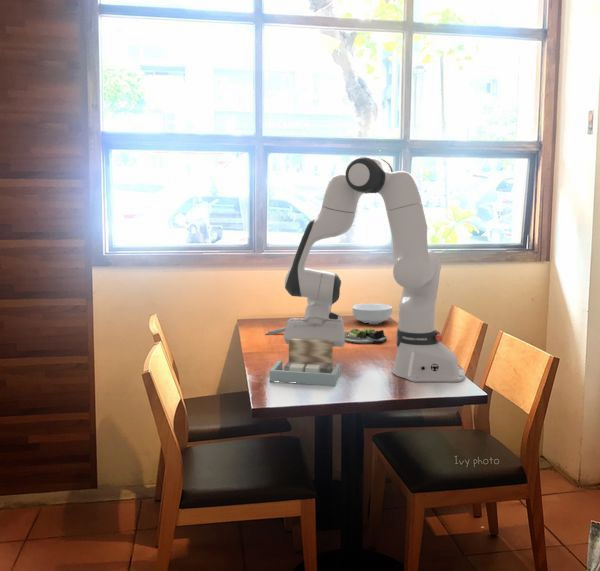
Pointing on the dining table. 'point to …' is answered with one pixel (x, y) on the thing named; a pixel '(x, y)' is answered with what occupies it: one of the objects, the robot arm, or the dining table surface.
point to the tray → (304, 376)
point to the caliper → (276, 331)
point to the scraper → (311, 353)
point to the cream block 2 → (312, 368)
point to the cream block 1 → (297, 367)
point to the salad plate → (365, 336)
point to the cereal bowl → (372, 312)
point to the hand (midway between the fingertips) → (311, 355)
